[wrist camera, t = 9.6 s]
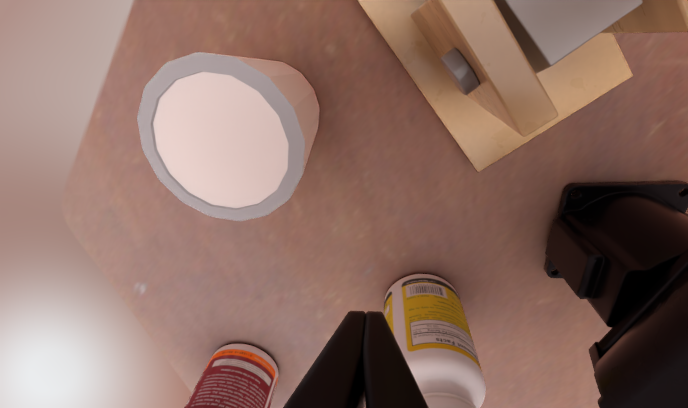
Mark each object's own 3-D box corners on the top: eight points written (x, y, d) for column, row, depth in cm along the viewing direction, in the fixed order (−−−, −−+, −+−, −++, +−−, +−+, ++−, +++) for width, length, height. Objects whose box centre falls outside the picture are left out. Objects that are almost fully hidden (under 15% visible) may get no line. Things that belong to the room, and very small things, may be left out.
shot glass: (256, 183, 22) (205, 243, 15) (191, 83, 19) (99, 106, 13) (351, 139, 20) (335, 186, 13) (291, 21, 17) (239, 12, 11)
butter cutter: (329, -40, 16) (262, -132, 7) (482, -204, 13) (680, -684, 4) (473, 165, 20) (544, 268, 11) (617, 73, 17) (871, 113, 8)
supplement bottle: (415, 337, 26) (430, 488, 18) (369, 295, 25) (361, 436, 16) (475, 305, 24) (526, 457, 15) (428, 257, 23) (455, 395, 14)
